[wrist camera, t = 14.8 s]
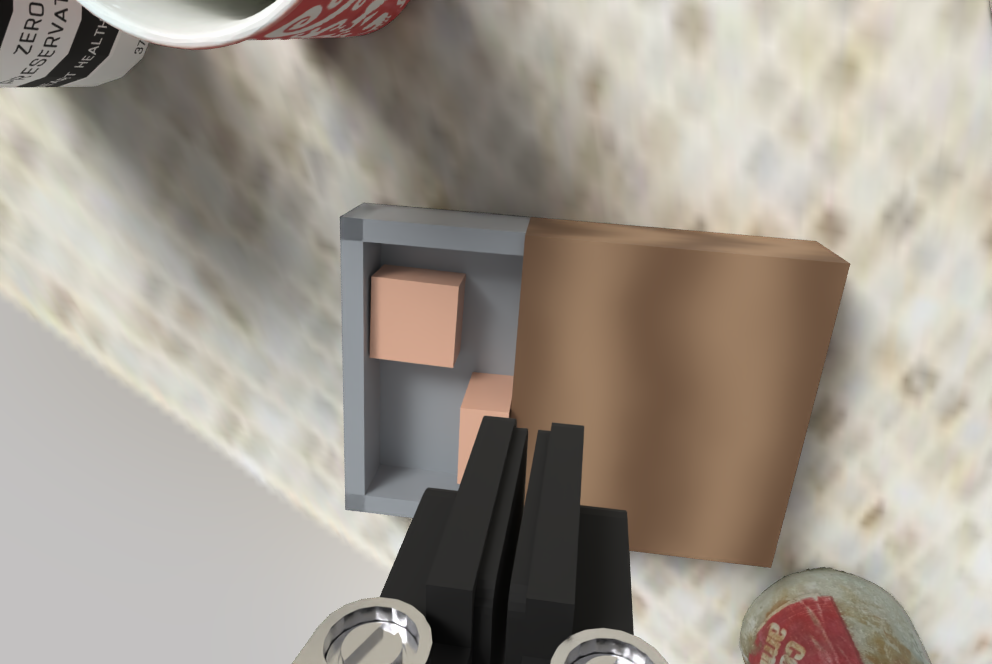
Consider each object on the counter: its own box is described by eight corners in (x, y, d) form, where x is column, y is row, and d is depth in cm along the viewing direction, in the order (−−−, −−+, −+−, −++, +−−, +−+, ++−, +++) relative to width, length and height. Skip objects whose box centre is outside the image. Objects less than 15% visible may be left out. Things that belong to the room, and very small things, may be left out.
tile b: (371, 276, 30) (384, 264, 32) (369, 357, 32) (381, 340, 34) (458, 286, 30) (465, 273, 32) (452, 368, 32) (460, 350, 34)
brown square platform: (816, 241, 30) (850, 263, 27) (750, 517, 36) (770, 567, 32) (530, 216, 31) (524, 235, 28) (507, 489, 37) (500, 535, 33)
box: (530, 216, 31) (525, 232, 28) (507, 489, 37) (501, 528, 34) (363, 202, 32) (339, 216, 29) (365, 472, 37) (345, 509, 34)
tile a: (508, 412, 30) (460, 408, 30) (503, 488, 31) (457, 483, 32) (515, 376, 34) (472, 371, 34) (510, 445, 35) (469, 441, 35)
